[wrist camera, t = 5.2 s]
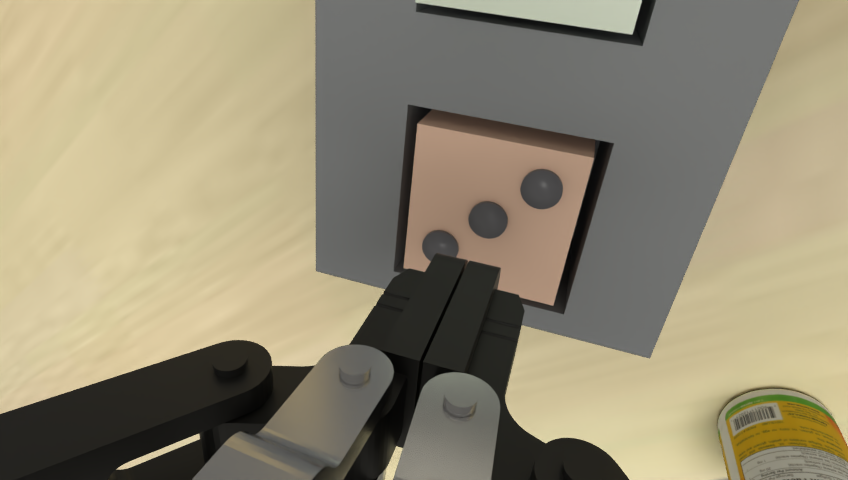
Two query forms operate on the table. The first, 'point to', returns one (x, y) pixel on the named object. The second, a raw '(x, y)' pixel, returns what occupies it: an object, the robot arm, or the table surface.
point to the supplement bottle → (781, 438)
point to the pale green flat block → (558, 11)
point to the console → (553, 111)
